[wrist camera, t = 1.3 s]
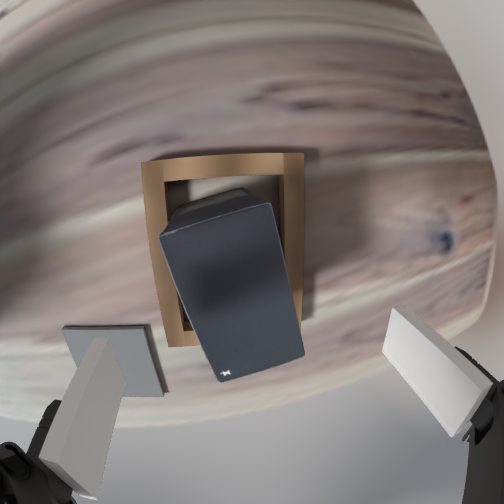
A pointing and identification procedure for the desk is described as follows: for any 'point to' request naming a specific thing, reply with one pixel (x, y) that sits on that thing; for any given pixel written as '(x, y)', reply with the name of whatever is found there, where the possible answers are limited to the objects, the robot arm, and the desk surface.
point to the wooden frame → (222, 166)
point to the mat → (121, 355)
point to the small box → (233, 282)
